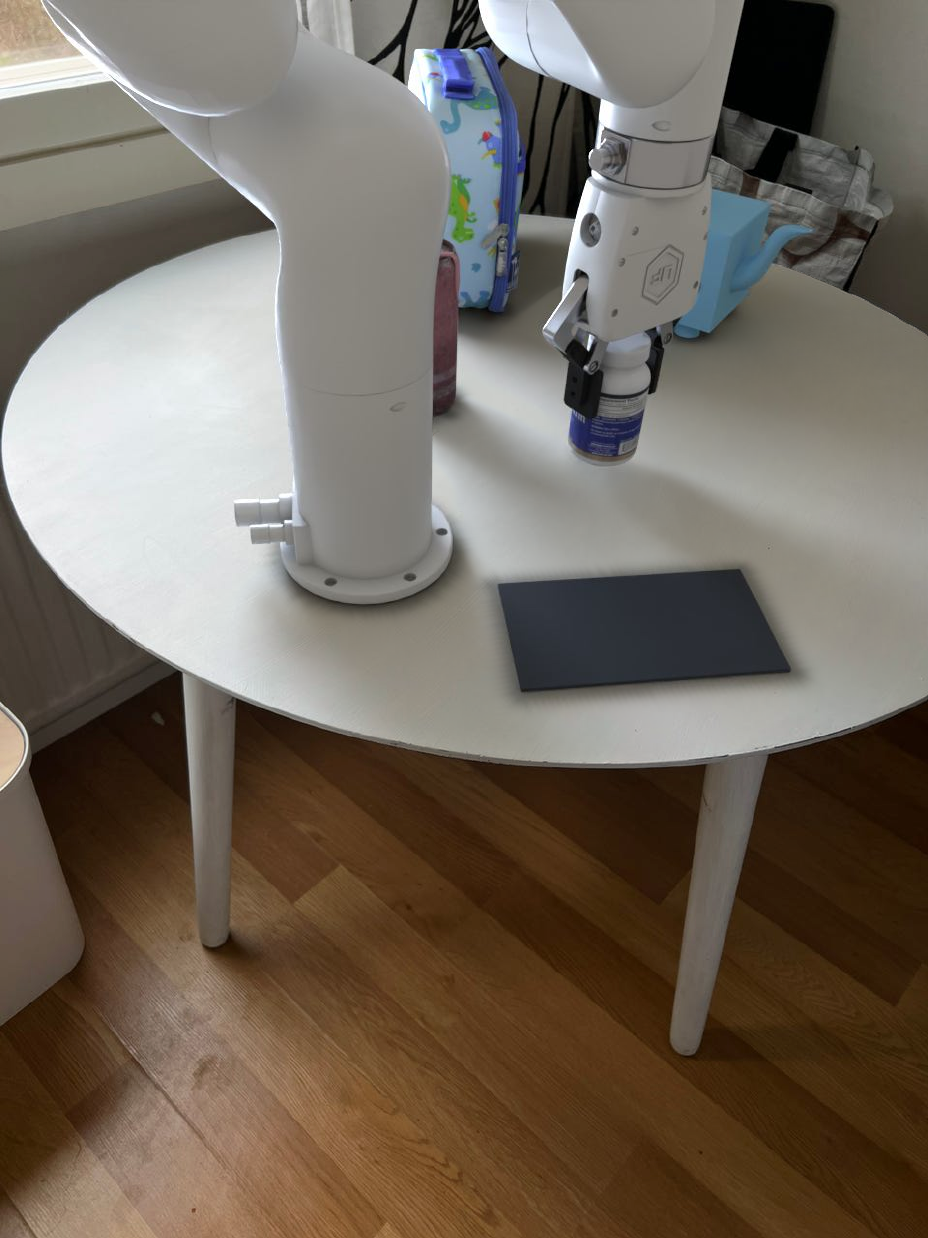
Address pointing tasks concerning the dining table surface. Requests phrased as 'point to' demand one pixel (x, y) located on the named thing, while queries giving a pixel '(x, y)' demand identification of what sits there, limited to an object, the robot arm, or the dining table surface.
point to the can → (445, 329)
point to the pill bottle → (615, 405)
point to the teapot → (733, 258)
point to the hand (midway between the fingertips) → (610, 396)
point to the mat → (637, 630)
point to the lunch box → (477, 167)
